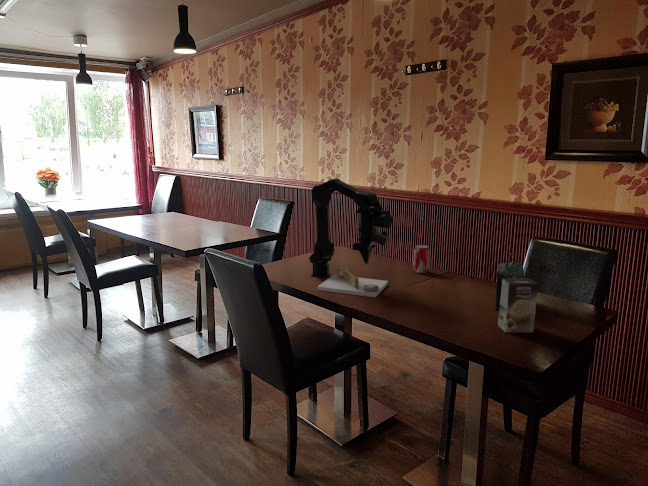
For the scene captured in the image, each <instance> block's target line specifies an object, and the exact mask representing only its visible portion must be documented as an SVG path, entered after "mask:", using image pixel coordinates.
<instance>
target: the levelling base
mask: <svg viewBox="0 0 648 486" xmlns="http://www.w3.org/2000/svg"><path fill="white" fill-rule="evenodd" d="M358 278H359V280H358V287H354V286H352V285H351V284H350V283H348V282H347V281H346V280H345V279H343V278H339V277H338V275H337V274H333V275H332V276H330V277H329V278H327V279H326V280H325V281H323V282H322V283H321V284H318V286H317V291H322V292H328V293H330V292H331V293H337V294H338V293H339V294H346V295H352V296H353V295H354V296H362V297H370V298H377V296H379V295H380V294H381V292H382V291H383V290H384V289H385V288H386V287H387V286H388V285H389V284H388V283H389V281H388V280H384V279H383V280H382V279H375V278H365V277H358Z"/></svg>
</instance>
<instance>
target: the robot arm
mask: <svg viewBox="0 0 648 486" xmlns="http://www.w3.org/2000/svg"><path fill="white" fill-rule="evenodd" d="M335 192H338V193H340V194H341V195H343V196H344V197H347V198H348V199H351V200H352V201H353V202H354V204H355V205H357V206H358V207H359V208H358V209H357V210H356V211H355V214H359V227H358V228H357V229H358V231H359V237H358V241H355V242H354V243H353V244H352V246H351V247H352V249H351V250H352V251H358V252H359V254H360V256H361V257H362V260H363V262H364V264H365V265H368V264H369V262H370V258H371V254H372V251H373V250H374V249H375V248H376V247H377V245H376V244H374V243H377V244H379V245H380V246H384V247H385V246H386V245H387V243H388V240H389V239H390V235H389V232H388V231H387V230H383V231H382V232H381V231H377V230H378V229H377V228H384V229H390V228H391V226H392V225H393V221H394V220H393V217H392V214H391V213H390V210H388V209H385V210H384V208H383V206H382V205H381V203H380V201H379V199H378V195H377V194H376V193H374V192H371V191H365V190H360V189H358V188H356V187H354V186H352V185H350V184H348V183H346V182H344V181H342V180H341V178H332V179H328V180H327V181H325V182H322V183H321V184H318V185H314V186H313V187H312V188H311V198H312V199H311V200H312V201H313V203H314V205H315V206H316V208H315V209H316V228H317V229H316V233H317V236H316V237H317V240H316V241H315V244H314V245H313V246H314V249H313V253H311V255H310V256H309V257H308V259H309V263H312V274H311V275H310V277H317V278H326V277H328V276H329V275H330V264H329V262H331V261H332V258H333V256H334V255H335V254H334V253H335V243H334V242H332V241H331V240H330V236H329V235H330V234H329V233H330V232H329V231H330V229H329V204H330V202H331V200H332V194H333V193H335Z"/></svg>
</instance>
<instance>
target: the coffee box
mask: <svg viewBox="0 0 648 486" xmlns="http://www.w3.org/2000/svg"><path fill="white" fill-rule="evenodd" d="M538 291H539V283H538V282H536V281H535V280H533V279H531V278H529V277H527V278H526V277H525V278H502V288H501V298H500V308H499V311H498V321H497V326H498V327H499V328H500V329H501V330H502V331H503V332H504V333H534V327H535V319H536V307H537V301H538Z"/></svg>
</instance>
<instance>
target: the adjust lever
mask: <svg viewBox="0 0 648 486" xmlns="http://www.w3.org/2000/svg"><path fill="white" fill-rule="evenodd" d="M337 269H338V271H337V272H338V273H337V274H338V277H339V278H343V279H345V280H346V281H347V282H348V283H350V284H351V285H352V286H354V287H358V280H359V278H360V277H357V276H356V275H354V274H353V273H352V272H351V271H349V269H348V268H347V267H339V268H337Z"/></svg>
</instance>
